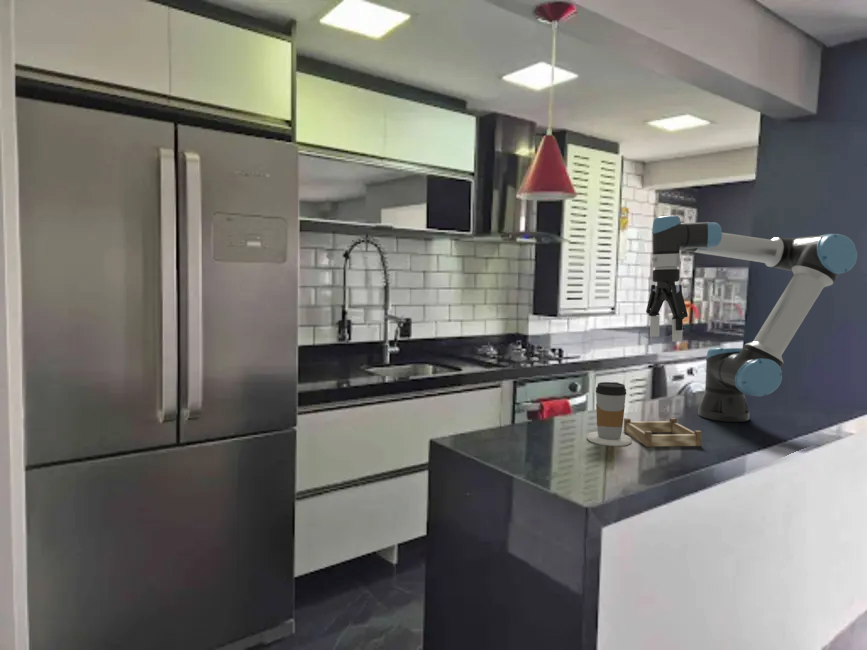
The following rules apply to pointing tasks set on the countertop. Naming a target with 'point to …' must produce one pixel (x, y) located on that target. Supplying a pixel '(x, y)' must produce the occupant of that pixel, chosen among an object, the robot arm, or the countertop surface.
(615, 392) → the coffee cup
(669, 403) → the countertop surface
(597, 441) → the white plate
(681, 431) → the wooden frame
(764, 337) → the robot arm
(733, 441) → the countertop surface
